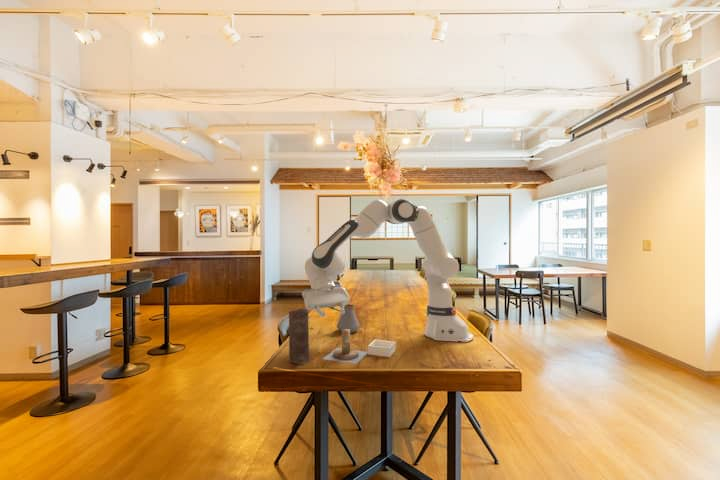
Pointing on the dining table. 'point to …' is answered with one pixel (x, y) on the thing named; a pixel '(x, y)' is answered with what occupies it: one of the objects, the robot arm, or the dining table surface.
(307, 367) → the dining table surface
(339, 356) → the lid
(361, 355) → the mat
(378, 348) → the dish
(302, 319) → the candle
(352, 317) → the coffee pot
